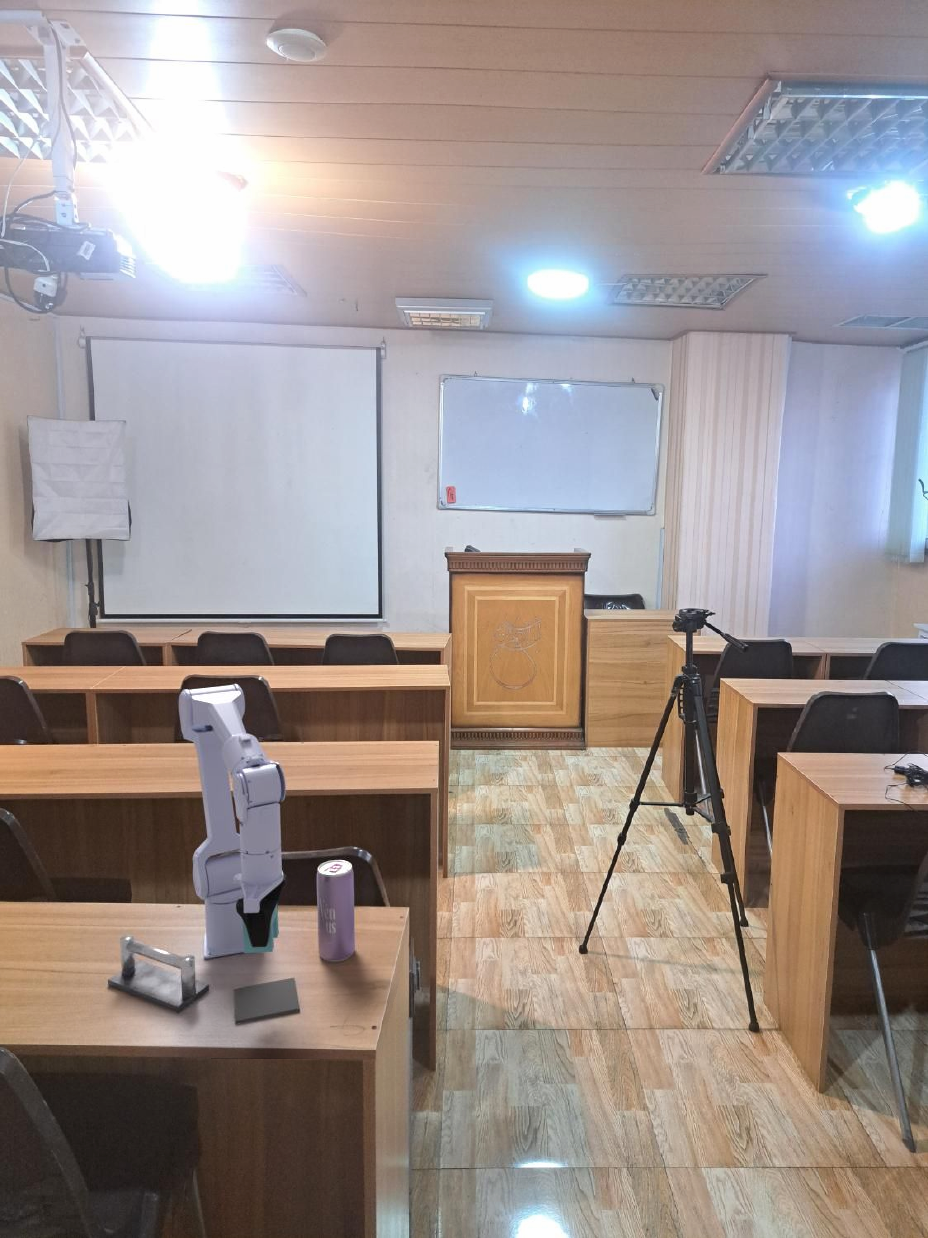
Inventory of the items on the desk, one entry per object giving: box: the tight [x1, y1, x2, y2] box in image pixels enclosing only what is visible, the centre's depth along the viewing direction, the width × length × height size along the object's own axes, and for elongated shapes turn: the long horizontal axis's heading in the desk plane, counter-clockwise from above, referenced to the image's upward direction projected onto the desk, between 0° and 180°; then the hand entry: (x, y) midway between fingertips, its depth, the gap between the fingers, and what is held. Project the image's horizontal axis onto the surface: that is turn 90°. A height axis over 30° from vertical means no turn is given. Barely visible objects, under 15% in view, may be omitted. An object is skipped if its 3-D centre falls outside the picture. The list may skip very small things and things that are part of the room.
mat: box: [233, 977, 301, 1025], centre depth 110 cm, size 9×8×1 cm
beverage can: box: [316, 859, 356, 963], centre depth 122 cm, size 6×6×15 cm
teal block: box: [243, 905, 280, 954], centre depth 109 cm, size 5×4×5 cm
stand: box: [107, 934, 210, 1014], centre depth 113 cm, size 6×15×6 cm, turn 64°
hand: (263, 935), depth 109 cm, fingers closed on teal block, 5 cm apart
